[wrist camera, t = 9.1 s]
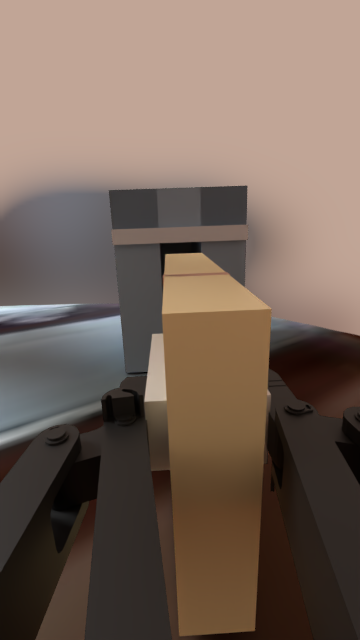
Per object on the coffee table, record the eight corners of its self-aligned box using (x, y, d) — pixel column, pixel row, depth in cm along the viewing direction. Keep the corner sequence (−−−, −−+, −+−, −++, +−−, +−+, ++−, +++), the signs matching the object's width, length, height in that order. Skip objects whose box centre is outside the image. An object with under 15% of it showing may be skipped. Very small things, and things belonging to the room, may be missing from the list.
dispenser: (244, 369, 29) (249, 184, 25) (125, 375, 29) (107, 189, 24) (221, 327, 41) (222, 197, 37) (137, 331, 41) (127, 201, 36)
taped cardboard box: (256, 630, 10) (273, 308, 7) (177, 636, 10) (159, 313, 7) (204, 395, 25) (202, 252, 22) (171, 396, 25) (164, 254, 21)
